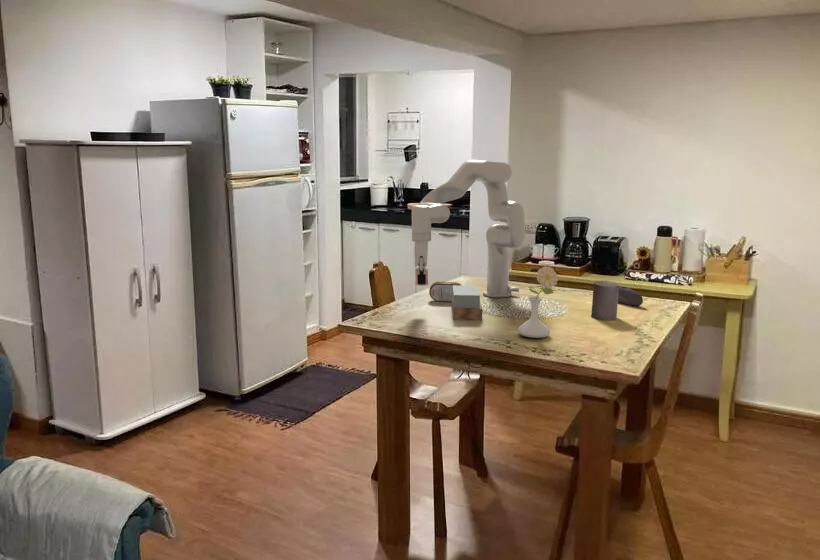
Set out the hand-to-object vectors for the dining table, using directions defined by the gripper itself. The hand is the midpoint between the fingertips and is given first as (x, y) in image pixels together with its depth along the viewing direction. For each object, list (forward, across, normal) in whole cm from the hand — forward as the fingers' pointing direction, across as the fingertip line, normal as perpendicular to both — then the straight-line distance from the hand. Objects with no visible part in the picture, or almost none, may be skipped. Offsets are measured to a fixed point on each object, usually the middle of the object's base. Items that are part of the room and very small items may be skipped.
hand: (421, 282), depth 263 cm
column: (+1, 0, 0) cm, 1 cm away
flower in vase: (+13, +32, +40) cm, 53 cm away
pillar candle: (+14, +4, +71) cm, 73 cm away
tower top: (+8, +1, +17) cm, 19 cm away
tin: (+13, -19, +10) cm, 26 cm away
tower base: (+13, +2, +18) cm, 22 cm away
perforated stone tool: (+15, -19, +87) cm, 91 cm away
